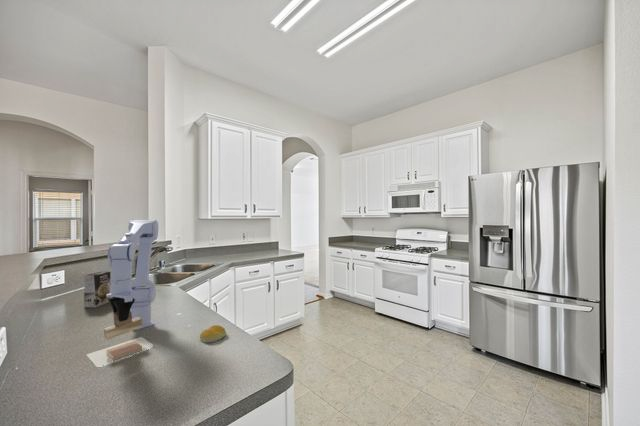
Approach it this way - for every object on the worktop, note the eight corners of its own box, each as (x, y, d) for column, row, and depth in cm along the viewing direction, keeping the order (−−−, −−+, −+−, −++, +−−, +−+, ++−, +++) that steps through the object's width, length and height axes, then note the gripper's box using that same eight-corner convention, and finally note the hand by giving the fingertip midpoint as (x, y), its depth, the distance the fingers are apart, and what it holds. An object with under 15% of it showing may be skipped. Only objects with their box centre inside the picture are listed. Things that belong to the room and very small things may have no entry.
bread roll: (195, 341, 97) (195, 330, 97) (213, 331, 106) (213, 321, 106) (212, 345, 94) (212, 334, 94) (230, 335, 103) (230, 324, 103)
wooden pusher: (104, 336, 89) (102, 316, 89) (138, 324, 97) (136, 305, 97) (108, 340, 87) (106, 319, 86) (142, 327, 95) (141, 308, 94)
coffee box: (96, 307, 132) (96, 275, 132) (83, 307, 132) (83, 275, 132) (110, 301, 141) (111, 271, 141) (98, 301, 141) (99, 271, 141)
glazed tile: (106, 350, 87) (113, 356, 83) (134, 340, 94) (142, 346, 90) (106, 354, 87) (113, 361, 83) (134, 345, 94) (142, 350, 90)
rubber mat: (86, 355, 87) (86, 354, 87) (141, 337, 100) (141, 336, 100) (97, 368, 79) (97, 368, 79) (156, 347, 92) (156, 347, 92)
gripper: (100, 278, 93) (99, 317, 92) (114, 284, 84) (113, 328, 84) (124, 274, 98) (124, 311, 98) (139, 280, 89) (139, 321, 89)
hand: (121, 318), depth 91 cm, fingers closed on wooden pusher, 4 cm apart
